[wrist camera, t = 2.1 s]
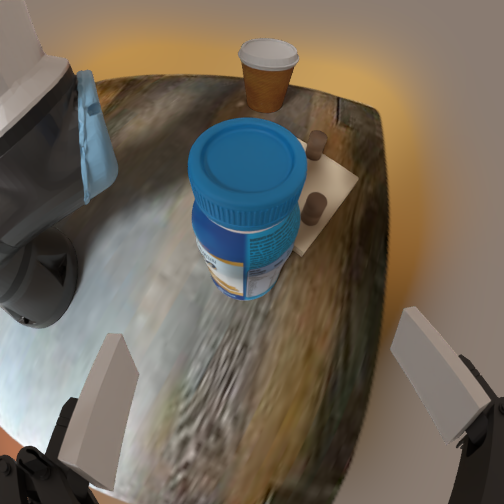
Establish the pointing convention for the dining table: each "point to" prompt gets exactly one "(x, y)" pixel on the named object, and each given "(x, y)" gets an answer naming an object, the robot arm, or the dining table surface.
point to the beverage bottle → (246, 202)
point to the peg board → (320, 191)
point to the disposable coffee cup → (267, 72)
